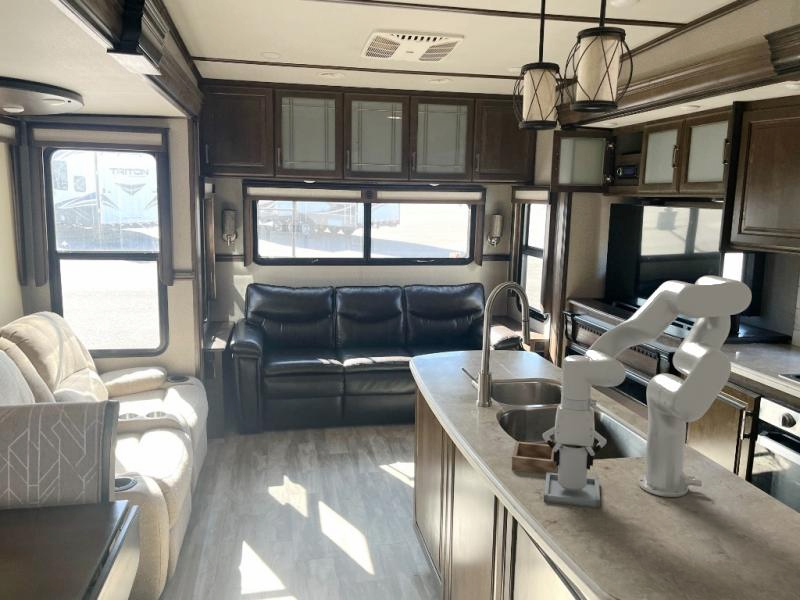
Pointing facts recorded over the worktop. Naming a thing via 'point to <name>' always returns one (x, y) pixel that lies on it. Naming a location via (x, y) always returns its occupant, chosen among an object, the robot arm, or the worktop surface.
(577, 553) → the worktop surface
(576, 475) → the can
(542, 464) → the caddy
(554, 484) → the tray
